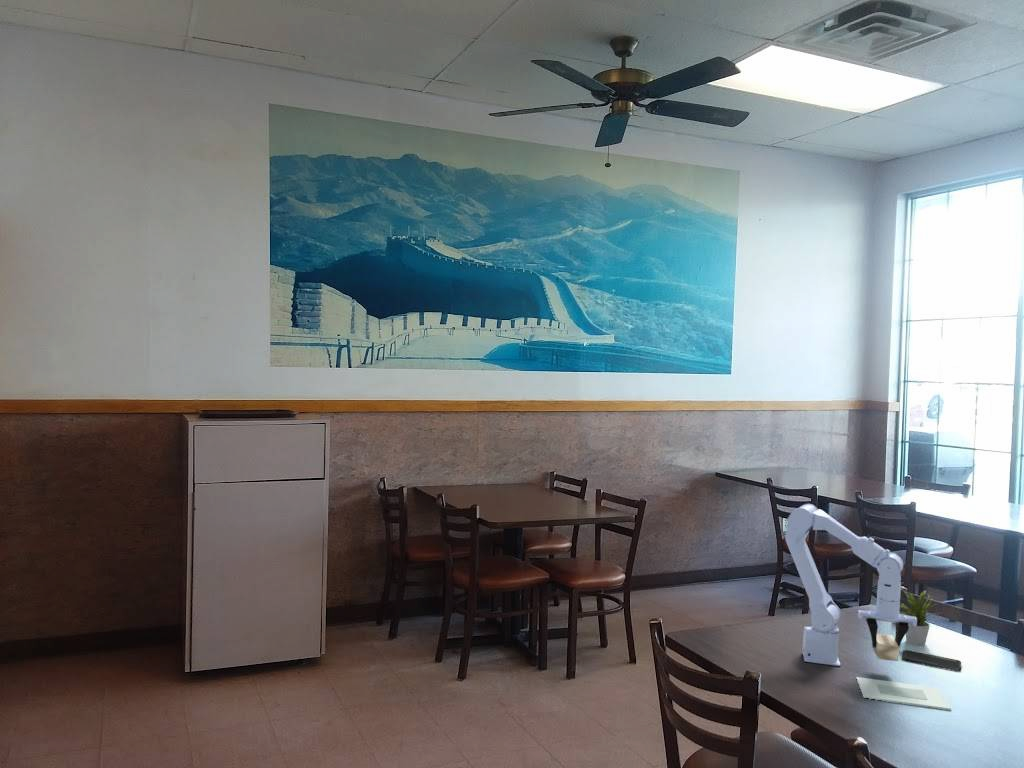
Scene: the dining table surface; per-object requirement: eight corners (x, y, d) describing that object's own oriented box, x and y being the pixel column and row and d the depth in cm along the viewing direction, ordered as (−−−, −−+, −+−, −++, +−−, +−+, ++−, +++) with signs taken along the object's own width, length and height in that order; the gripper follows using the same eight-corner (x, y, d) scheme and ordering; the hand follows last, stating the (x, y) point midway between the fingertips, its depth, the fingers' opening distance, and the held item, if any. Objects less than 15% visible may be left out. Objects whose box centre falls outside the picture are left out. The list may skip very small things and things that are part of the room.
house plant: (894, 629, 258) (897, 579, 257) (943, 640, 250) (946, 588, 249) (885, 642, 246) (888, 589, 245) (935, 653, 238) (939, 598, 237)
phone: (903, 649, 238) (961, 660, 231) (903, 653, 238) (960, 664, 231) (901, 657, 231) (960, 669, 224) (901, 661, 231) (960, 673, 224)
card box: (878, 659, 217) (878, 644, 216) (872, 647, 225) (873, 633, 225) (898, 661, 215) (899, 646, 215) (891, 649, 224) (892, 635, 224)
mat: (863, 698, 204) (863, 696, 204) (856, 678, 216) (856, 676, 216) (951, 710, 199) (951, 708, 199) (938, 689, 211) (938, 687, 211)
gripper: (862, 599, 218) (859, 648, 218) (920, 606, 214) (917, 656, 215) (858, 592, 225) (855, 640, 225) (915, 598, 221) (911, 647, 221)
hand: (885, 647), depth 220 cm, fingers closed on card box, 5 cm apart
